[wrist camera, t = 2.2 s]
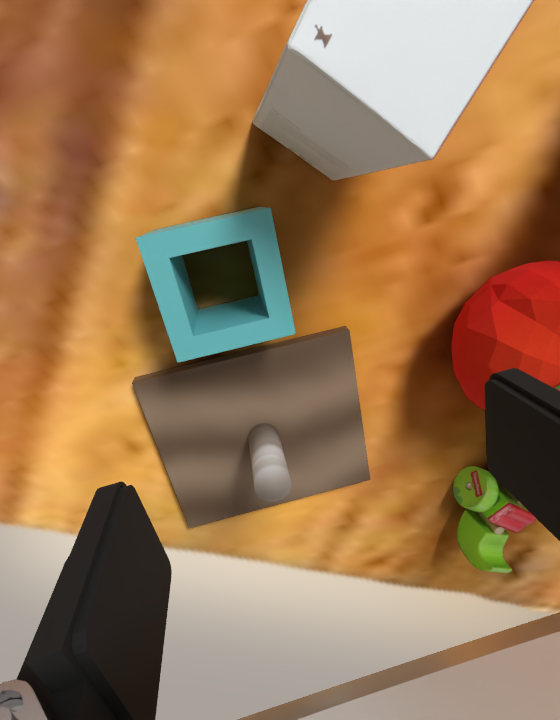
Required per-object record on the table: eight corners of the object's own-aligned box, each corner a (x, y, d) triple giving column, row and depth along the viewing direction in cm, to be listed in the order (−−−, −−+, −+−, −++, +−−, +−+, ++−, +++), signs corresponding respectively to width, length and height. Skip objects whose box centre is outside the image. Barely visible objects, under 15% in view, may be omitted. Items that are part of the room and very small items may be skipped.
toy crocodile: (554, 347, 33) (621, 376, 28) (603, 377, 35) (675, 410, 30) (421, 518, 38) (456, 571, 33) (470, 536, 40) (511, 590, 35)
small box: (333, 183, 26) (432, 166, 14) (249, 123, 24) (280, 45, 12) (406, 57, 24) (595, -88, 12) (320, -19, 22) (442, -283, 10)
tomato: (566, 360, 34) (700, 422, 24) (442, 412, 34) (528, 493, 25) (553, 224, 29) (715, 235, 20) (410, 285, 29) (502, 324, 20)
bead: (153, 230, 25) (135, 237, 20) (259, 206, 26) (270, 207, 20) (185, 331, 28) (177, 362, 23) (280, 308, 28) (295, 333, 23)
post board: (134, 377, 29) (110, 427, 22) (345, 326, 30) (380, 360, 23) (190, 519, 34) (183, 592, 28) (366, 472, 35) (399, 532, 29)
